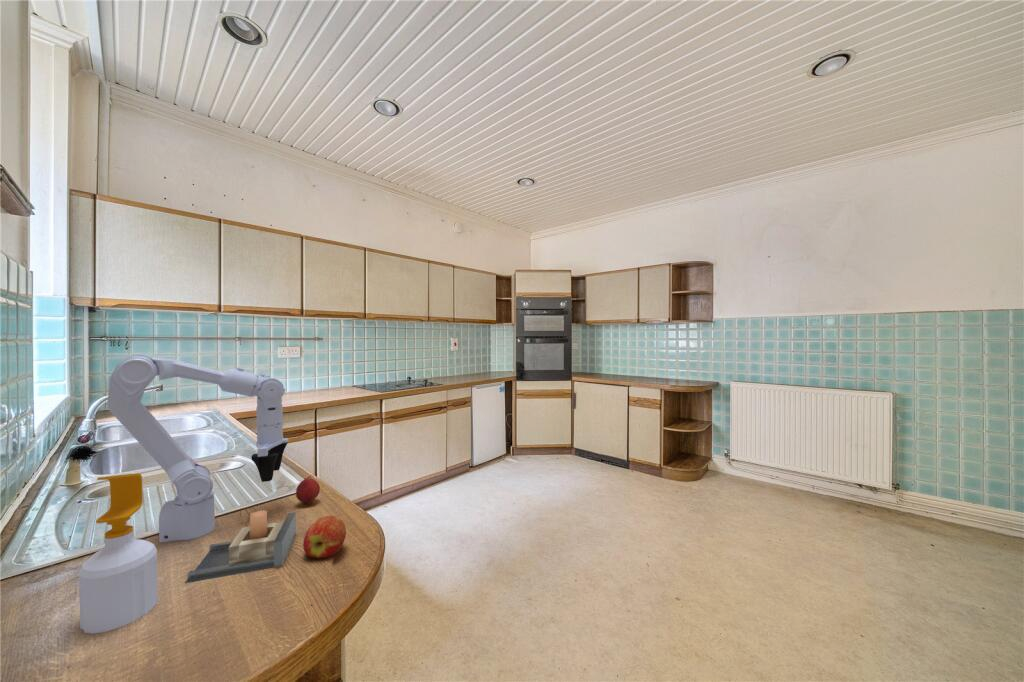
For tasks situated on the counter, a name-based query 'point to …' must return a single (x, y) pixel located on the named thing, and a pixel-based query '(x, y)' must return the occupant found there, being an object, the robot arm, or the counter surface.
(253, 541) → the sliding block
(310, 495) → the onion
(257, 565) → the slide base
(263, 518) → the dowel
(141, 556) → the soap bottle
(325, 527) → the apple
